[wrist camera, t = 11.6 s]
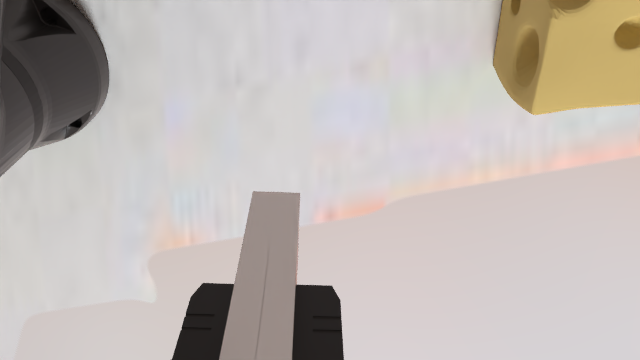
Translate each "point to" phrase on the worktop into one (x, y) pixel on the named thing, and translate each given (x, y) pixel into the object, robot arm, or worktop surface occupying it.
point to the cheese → (569, 53)
